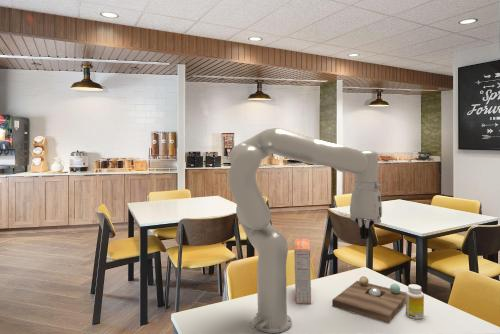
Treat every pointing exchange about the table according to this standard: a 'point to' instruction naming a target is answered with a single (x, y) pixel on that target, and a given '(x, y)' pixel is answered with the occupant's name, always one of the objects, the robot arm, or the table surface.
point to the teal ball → (395, 288)
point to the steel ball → (375, 292)
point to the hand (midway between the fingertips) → (364, 238)
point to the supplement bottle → (414, 302)
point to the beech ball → (363, 280)
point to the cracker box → (302, 271)
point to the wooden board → (370, 301)
